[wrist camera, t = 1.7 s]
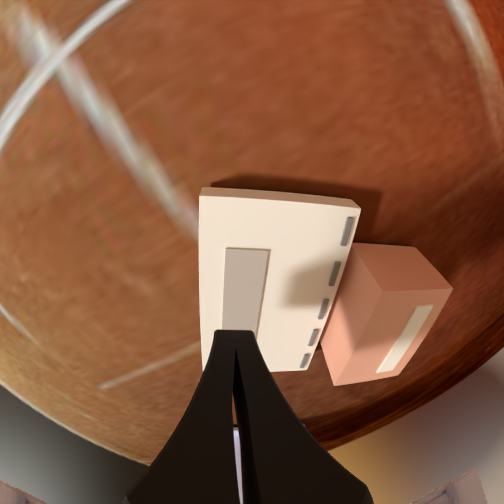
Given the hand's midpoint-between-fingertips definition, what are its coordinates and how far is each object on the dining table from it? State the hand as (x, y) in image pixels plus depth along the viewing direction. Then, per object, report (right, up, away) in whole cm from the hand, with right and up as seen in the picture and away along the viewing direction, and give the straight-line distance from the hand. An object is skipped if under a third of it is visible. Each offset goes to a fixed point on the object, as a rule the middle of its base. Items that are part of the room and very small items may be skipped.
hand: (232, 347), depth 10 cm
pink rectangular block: (+7, +1, +4) cm, 8 cm away
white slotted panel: (+1, +2, +3) cm, 4 cm away
